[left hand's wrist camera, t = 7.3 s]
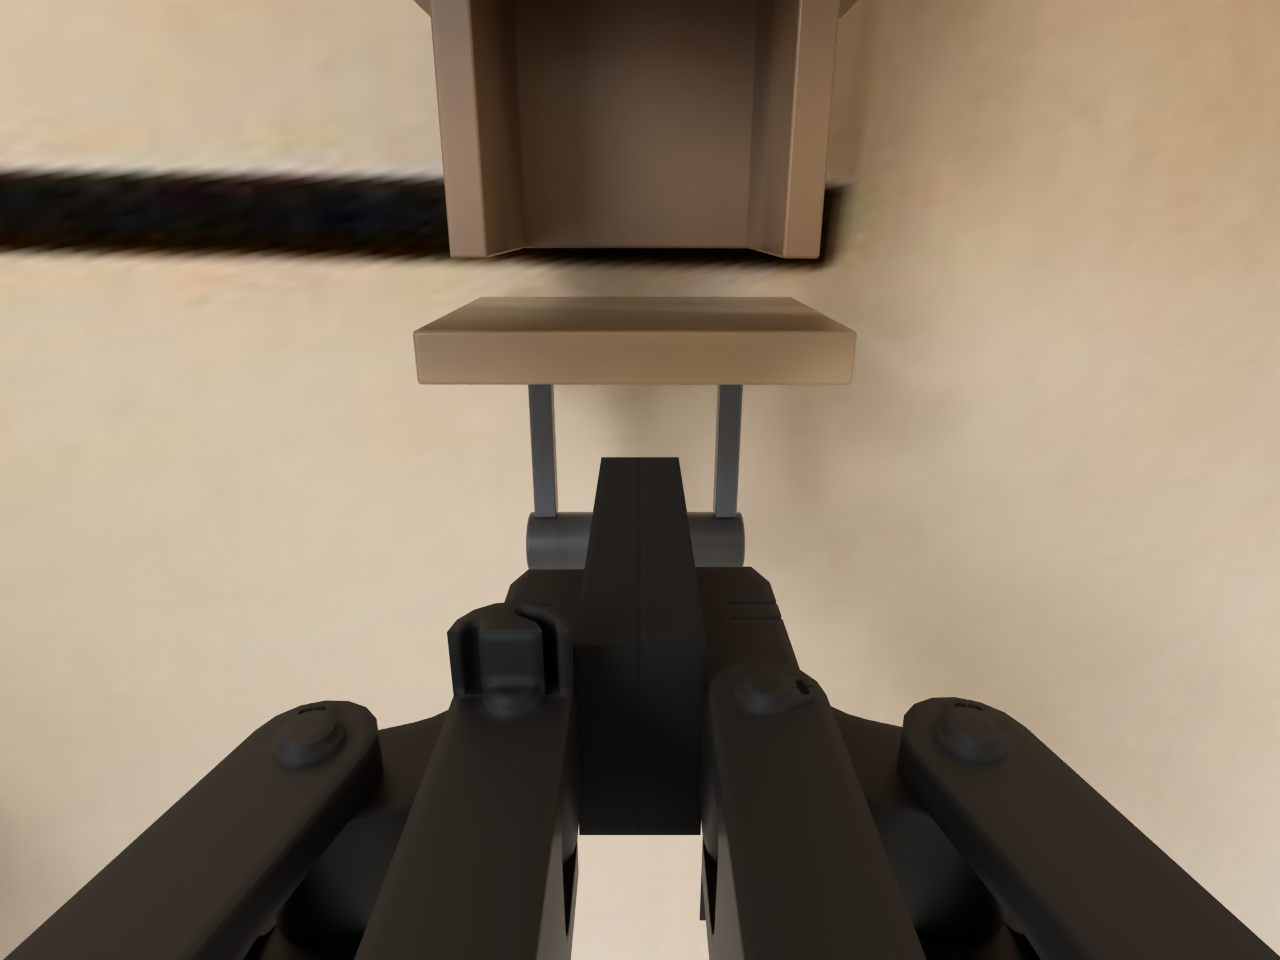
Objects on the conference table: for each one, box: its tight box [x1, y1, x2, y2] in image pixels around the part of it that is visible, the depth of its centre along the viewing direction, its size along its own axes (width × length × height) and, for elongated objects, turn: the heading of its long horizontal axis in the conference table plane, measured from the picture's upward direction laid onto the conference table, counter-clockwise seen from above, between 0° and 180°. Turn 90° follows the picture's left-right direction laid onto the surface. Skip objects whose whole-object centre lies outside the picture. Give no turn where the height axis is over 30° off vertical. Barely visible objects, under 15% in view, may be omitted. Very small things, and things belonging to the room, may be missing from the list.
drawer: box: [413, 0, 857, 569], centre depth 18 cm, size 21×10×7 cm, turn 0°
